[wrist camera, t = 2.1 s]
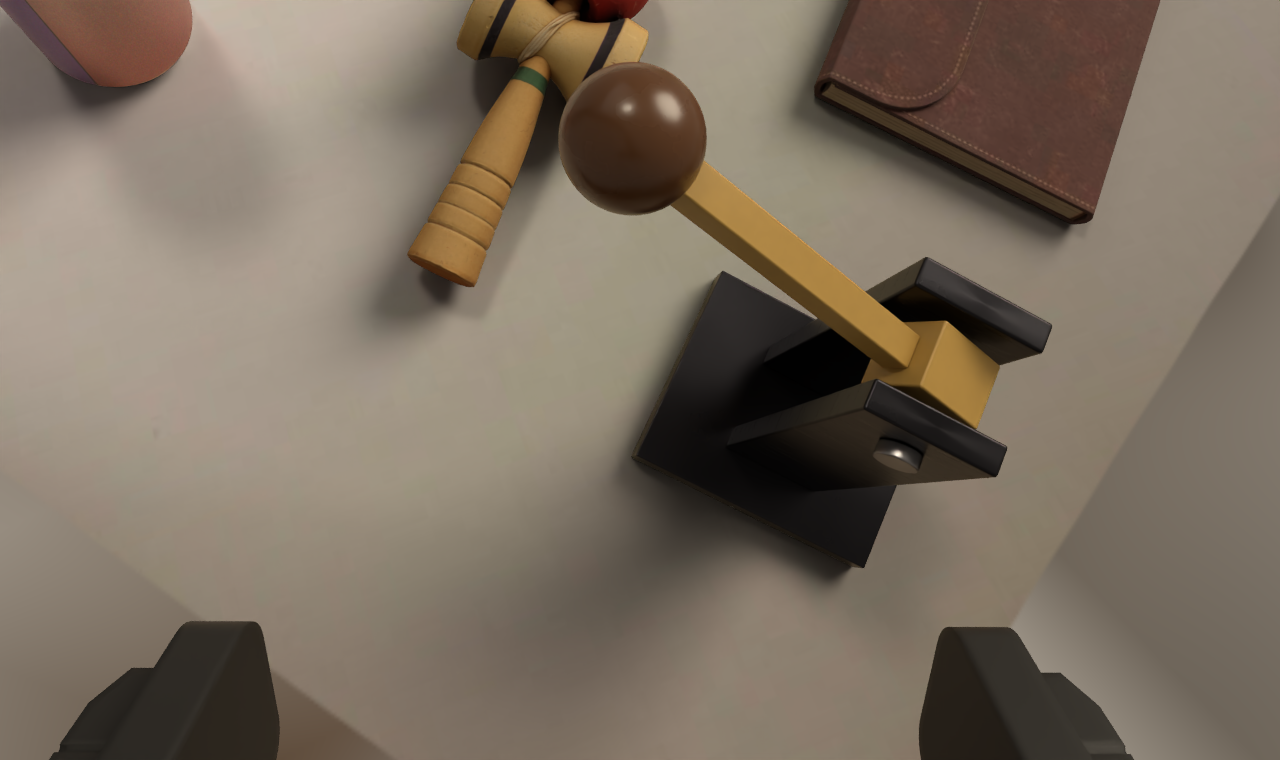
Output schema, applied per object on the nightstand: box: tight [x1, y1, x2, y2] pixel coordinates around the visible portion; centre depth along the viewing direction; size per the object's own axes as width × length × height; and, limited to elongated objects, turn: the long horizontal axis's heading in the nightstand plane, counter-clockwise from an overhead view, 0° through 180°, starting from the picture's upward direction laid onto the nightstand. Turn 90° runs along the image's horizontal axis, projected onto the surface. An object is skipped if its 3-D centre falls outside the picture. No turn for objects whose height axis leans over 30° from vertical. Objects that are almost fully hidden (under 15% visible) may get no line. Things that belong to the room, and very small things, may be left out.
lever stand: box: [631, 257, 1052, 568], centre depth 33 cm, size 11×9×15 cm
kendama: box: [407, 0, 648, 287], centre depth 38 cm, size 8×6×18 cm
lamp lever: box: [558, 62, 1000, 429], centre depth 24 cm, size 15×4×4 cm, turn 65°
